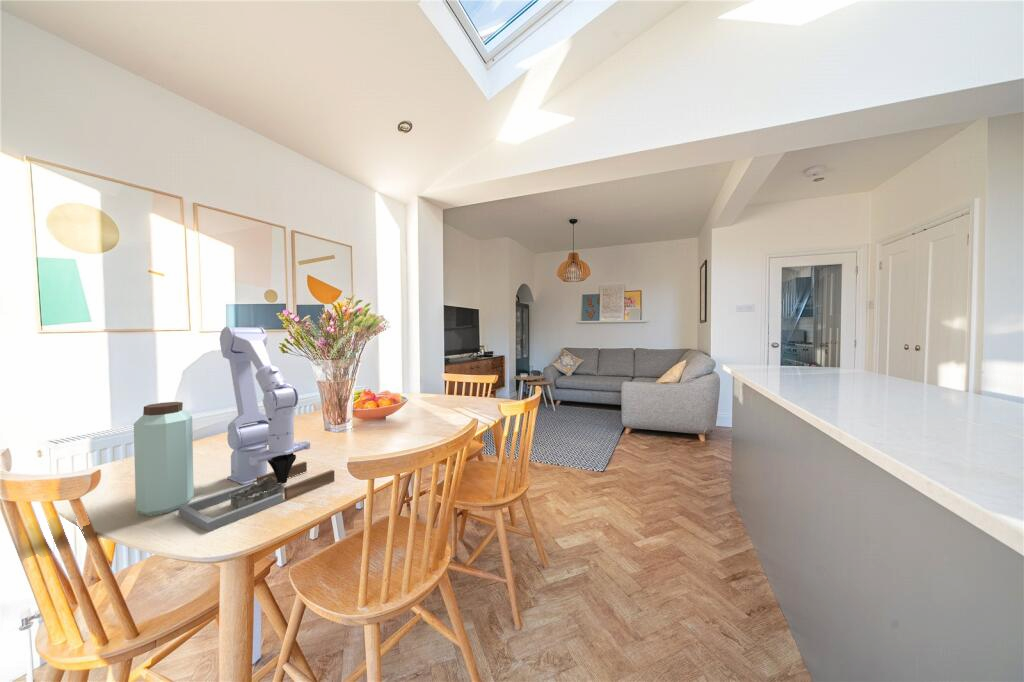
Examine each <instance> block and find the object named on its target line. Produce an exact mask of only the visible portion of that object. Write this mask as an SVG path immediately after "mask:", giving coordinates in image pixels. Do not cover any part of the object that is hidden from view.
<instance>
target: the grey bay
mask: <svg viewBox="0 0 1024 682" xmlns="http://www.w3.org/2000/svg"><path fill="white" fill-rule="evenodd" d="M253 484H256V482H255V481H254V482H251V483H248V484H245V485H243V484H241V485H240V486H238V487H234V488H231V489H228V490H224V491H222V492H220V493H215V494H212V495H210V496H207V497H204V498H200V499H197V500H194V501H192V502H191V501H190V502H188V503H187V504H185V505H182V506H179V509H178V516H179V515H180V517H181V518H183V519H184V518H185V520H186V521H188V522H189V523H191V524H193V525H195V526H197V527H198V528H200V529H202V530H203V531H205V532H207V533H210V532H211V531H214V529H215V530H216V529H219V527H220V528H222V527H224V526H226V525H230V524H231V523H234V522H237V521H240V520H241V519H244V518H246V517H249V516H251V515H253V514H257V513H259V512H261V511H264V510H266V509H268V508H270V507H271V508H272V507H274V506H276V505H278V504H281V503H283V502H284V493H283V494H282V493H279V494H276V495H273V496H271V497H268V498H265V499H263V500H260V501H257V502H255V503H252V504H250V505H247V506H244V507H242V508H239V509H238V508H237V509H234V510H231V511H229V512H226V513H223V514H221V515H219V516H216V517H215V516H214V517H213V518H211V517H210V516H208V515H206V514H204V513H202V512H200V511H201V510H204V509H205V508H206V507H207V508H209V506H210V507H212V506H215V505H218V504H221V503H224V502H226V501H229V500H231V498H230V497H229V496H228V495H231V494H235V493H237V492H239V491H241V490H243V489H247V488H248V487H251V486H252V485H253ZM223 501H224V502H223ZM220 502H221V503H220ZM207 508H206V509H207Z"/></svg>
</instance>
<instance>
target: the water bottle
mask: <svg viewBox="0 0 1024 682" xmlns="http://www.w3.org/2000/svg"><path fill="white" fill-rule="evenodd" d="M183 404H184V403H183V401H182V402H181V401H168V402H167V401H166V402H158V403H157V402H156V403H152V404H151V403H150V404H147V405H145V406H143V414H142V415H141V417H139V418H138V419H137V420H136V421H135V422H134V423H133V443H134V444H133V446H134V447H133V450H134V455H133V456H134V482H135V483H134V488H135V493H134V494H135V510H136V511H137V512H139V513H140V514H142V515H145V516H148V515H149V517H150V515H152V516H156V515H155V514H158V515H161V514H160V513H164V514H167V513H166V512H169V513H171V512H173V511H172V510H174V511H176V510H179V509H178V508H179V506H182V505H185V504H188V503H190V501H189V500H191V499H192V498H193V497H194V495H195V494H194V491H195V490H194V489H195V488H194V486H195V485H194V448H193V447H194V445H193V442H194V440H193V416H192V415H190V414H189V413H188V412H186V411H184V409H183ZM175 509H176V510H175ZM170 511H171V512H170Z"/></svg>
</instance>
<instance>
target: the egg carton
mask: <svg viewBox="0 0 1024 682" xmlns="http://www.w3.org/2000/svg"><path fill="white" fill-rule="evenodd" d="M284 487H286V483H283V484H282V483H281V482H279V483H278V481H277V479H275V478H273V477H272V475H271V476H269V477H266V478H263V479H262V480H260V481H259V483H257V482H256V483H255V484H253V485H252V486H251V487H248V488H247V489H243V490H241V491H239V492H237V493H235V494H231V495H228V496H229V497H230V498H231V499H230V507H231V508H236V506H238V507H237V509H239V508H242V507H244V506H247V505H250V504H252V503H255V502H257V501H260V500H263V499H265V498H268V497H271V496H273V495H276V494H279V493H282V494H283V495H284ZM264 491H267V492H264Z"/></svg>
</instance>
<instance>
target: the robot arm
mask: <svg viewBox="0 0 1024 682" xmlns="http://www.w3.org/2000/svg"><path fill="white" fill-rule="evenodd" d="M267 341H268V335H267V331H266V330H265V329H264V327H262V326H257V327H238V326H237V327H235V326H234V327H233V326H232V327H231V326H225V327H223V329H222V330H221V331H220V336H219V343H220V344H219V346H220V351H221V354H222V357H223V358H224V359H227V360H228V362H229V367H230V373H231V379H232V385H233V391H234V396H235V403H236V409H237V416H235V418H234V419H232V420H231V422H229V423H228V425H227V437H226V438H227V444H228V446H229V447H230V449H232V452H231V454H230V475H228V476H227V477H226V478H227V479H228V480H230V481H234V482H236V483H238V484H240V485H245V484H248V483H251V482H254V483H255V482H257V477H258V476H262V475H265V474H268V473H271V472H274V473H275V475H276V478H277V481H278V484H279V482H281V483H282V484H283V483H284V484H287V481H288V479H287V478H288V474H289V471H290V469H291V466H292V465H294V463H295V461H296V459H297V455H296V454H294V453H297V452H301V451H304V450H307V451H308V450H310V449H311V441H307V440H305V441H301V442H295V429H294V428H295V426H294V425H295V424H294V423H295V420H294V415H295V413H294V408H295V407H297V405H298V403H299V394H298V391H297V388H296V387H295V386H292V385H291V384H290V383H287V381H286V379H285V377H284V376H283V374H282V372H281V370H280V368H279V366H276V365H273V364H272V361H271V358H270V356H269V353H268V350H267V348H266V346H267ZM252 364H253V365H252ZM252 366H254V368H255V369H256V370H257V372H256V373H255V379H256V381H257V383H258V385H259V387H260V390H261V392H262V393H263V399H262V404H263V407H264V410H265V413H263V412H261V411H260V407H259V402H258V397H257V390H256V384H255V379H254V373H253V367H252ZM267 447H268V448H267ZM268 464H269V465H270V467H271V468H272V471H268Z"/></svg>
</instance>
